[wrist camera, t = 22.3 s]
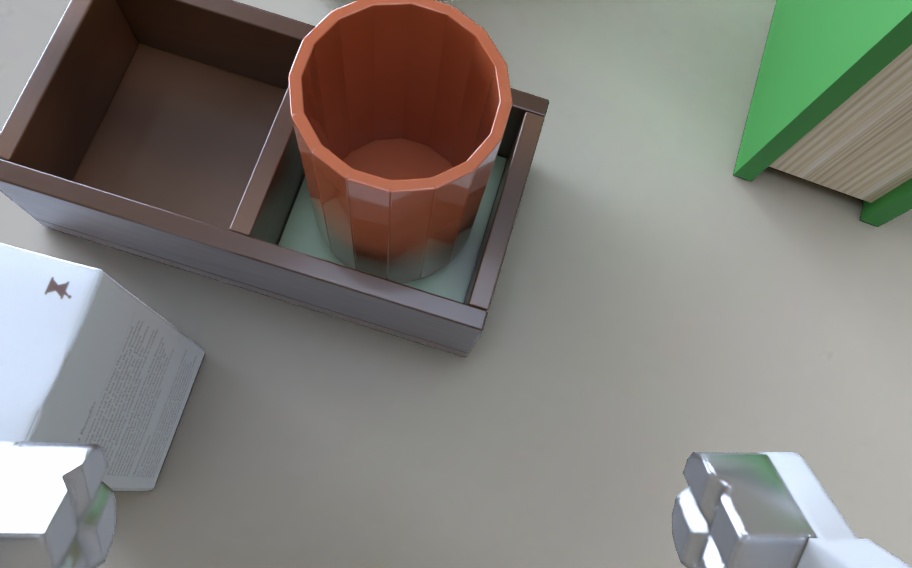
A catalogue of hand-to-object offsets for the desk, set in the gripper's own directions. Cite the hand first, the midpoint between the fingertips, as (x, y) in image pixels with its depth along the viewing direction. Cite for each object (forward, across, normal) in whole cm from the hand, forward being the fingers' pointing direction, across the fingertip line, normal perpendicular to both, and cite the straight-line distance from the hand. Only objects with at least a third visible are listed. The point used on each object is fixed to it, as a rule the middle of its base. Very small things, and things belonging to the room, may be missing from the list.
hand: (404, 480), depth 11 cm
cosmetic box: (+17, +11, +13) cm, 24 cm away
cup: (+22, 0, +6) cm, 23 cm away
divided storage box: (+24, +5, +6) cm, 25 cm away
